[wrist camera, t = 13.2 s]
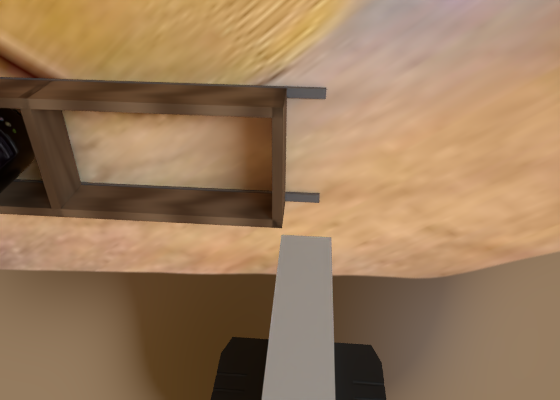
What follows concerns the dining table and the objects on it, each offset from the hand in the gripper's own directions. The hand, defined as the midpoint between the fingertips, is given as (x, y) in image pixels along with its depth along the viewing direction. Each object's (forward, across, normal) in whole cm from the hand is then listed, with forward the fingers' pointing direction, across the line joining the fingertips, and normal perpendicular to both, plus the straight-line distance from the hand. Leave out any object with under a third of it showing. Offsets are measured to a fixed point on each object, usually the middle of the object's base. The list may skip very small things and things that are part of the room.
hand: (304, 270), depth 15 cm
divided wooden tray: (+24, -17, -8) cm, 30 cm away
